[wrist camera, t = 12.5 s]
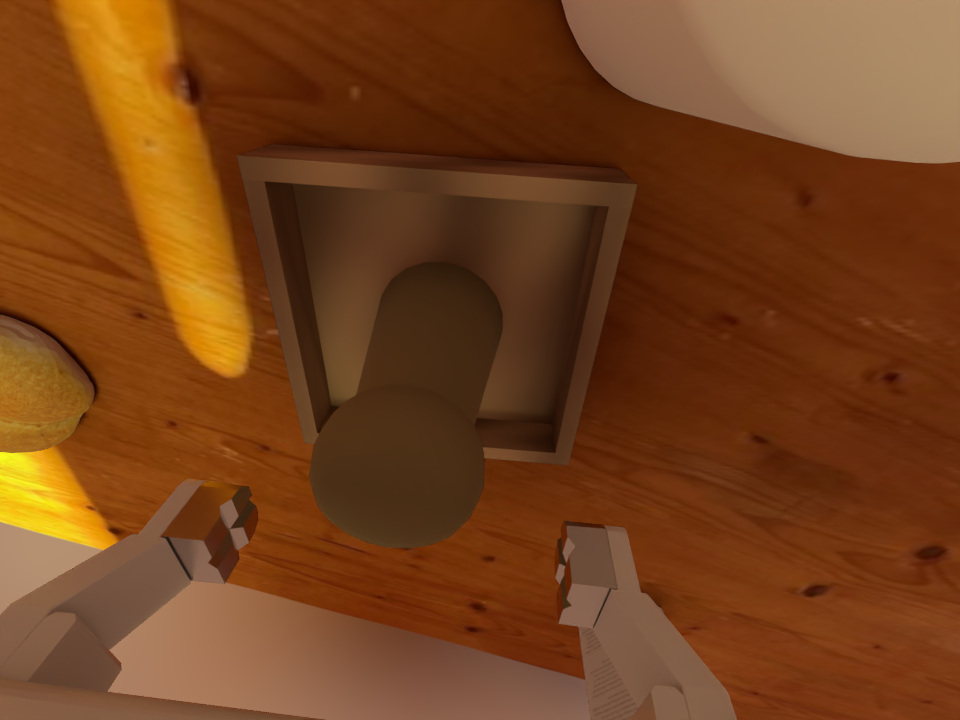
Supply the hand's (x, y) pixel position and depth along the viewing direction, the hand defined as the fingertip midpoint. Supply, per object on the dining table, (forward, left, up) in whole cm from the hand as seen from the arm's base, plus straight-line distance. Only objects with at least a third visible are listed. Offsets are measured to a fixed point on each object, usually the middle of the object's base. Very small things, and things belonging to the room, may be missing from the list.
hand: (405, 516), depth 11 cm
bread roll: (+25, +7, -12) cm, 29 cm away
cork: (+1, +1, -12) cm, 12 cm away
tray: (+1, 0, -12) cm, 12 cm away
